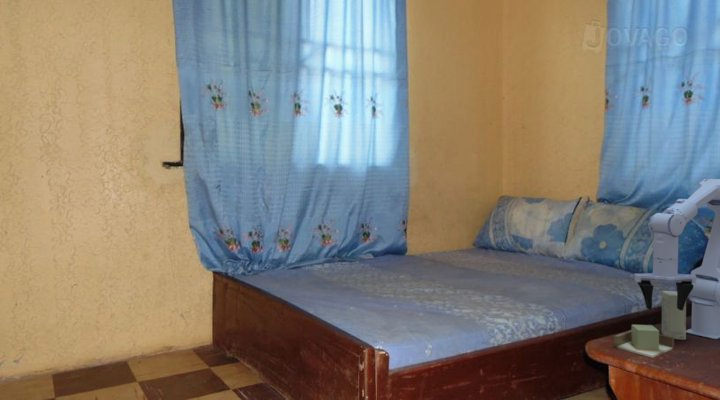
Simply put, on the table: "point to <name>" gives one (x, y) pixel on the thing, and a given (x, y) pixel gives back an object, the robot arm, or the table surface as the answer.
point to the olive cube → (645, 337)
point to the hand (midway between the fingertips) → (664, 309)
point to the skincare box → (673, 316)
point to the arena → (625, 343)
